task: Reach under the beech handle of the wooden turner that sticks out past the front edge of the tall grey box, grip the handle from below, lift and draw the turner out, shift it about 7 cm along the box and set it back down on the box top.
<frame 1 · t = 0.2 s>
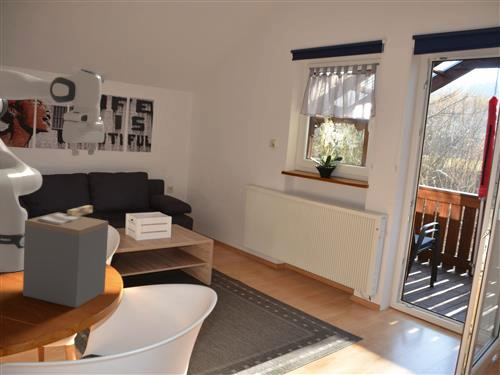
hand: (83, 155, 166), 47 cm above the table, tool pointing down, fingers open, 8 cm apart
grey box: (64, 293, 161), on the table
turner: (61, 219, 157), point 26 cm above the table, touching grey box
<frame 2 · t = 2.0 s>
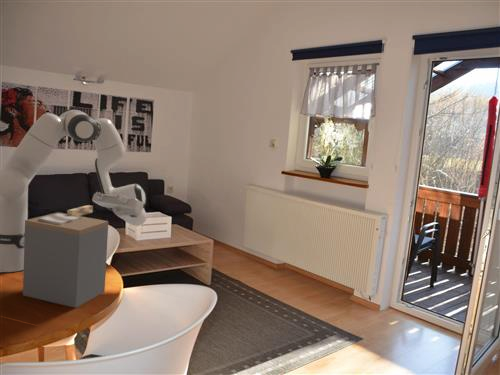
hand: (107, 195, 182), 31 cm above the table, tool pointing upward, fingers open, 8 cm apart
nothing on the table moved.
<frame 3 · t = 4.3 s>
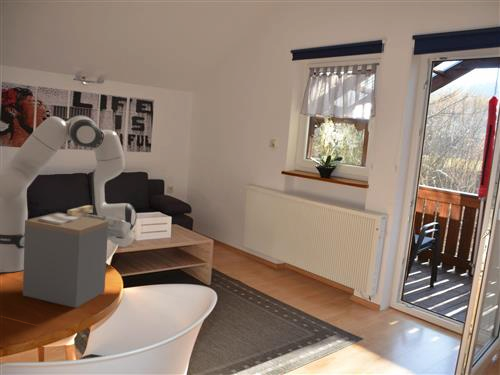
hand: (93, 216, 175), 24 cm above the table, tool pointing upward, fingers open, 8 cm apart
nothing on the table moved.
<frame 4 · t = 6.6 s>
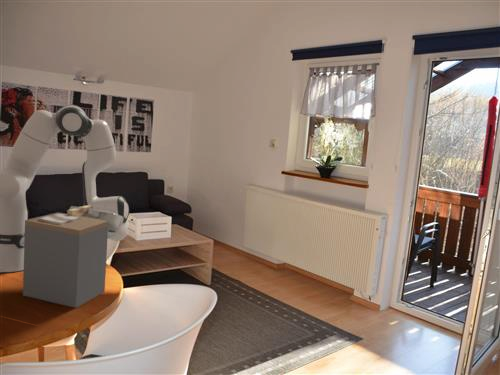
hand: (84, 209, 169), 28 cm above the table, tool pointing upward, fingers closed on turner, 2 cm apart
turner: (61, 219, 157), point 26 cm above the table, touching gripper, grey box
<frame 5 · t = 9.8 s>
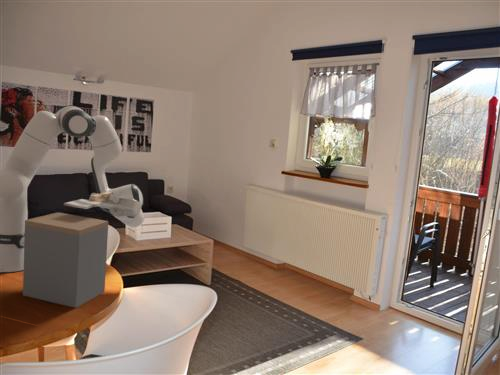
hand: (105, 195, 177), 32 cm above the table, tool pointing upward, fingers closed on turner
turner: (85, 204, 166), point 30 cm above the table, touching gripper
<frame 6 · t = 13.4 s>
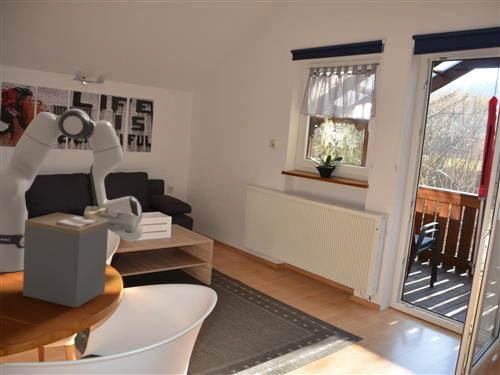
hand: (101, 209, 167), 29 cm above the table, tool pointing upward, fingers open, 4 cm apart
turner: (79, 222, 156), point 26 cm above the table, touching grey box
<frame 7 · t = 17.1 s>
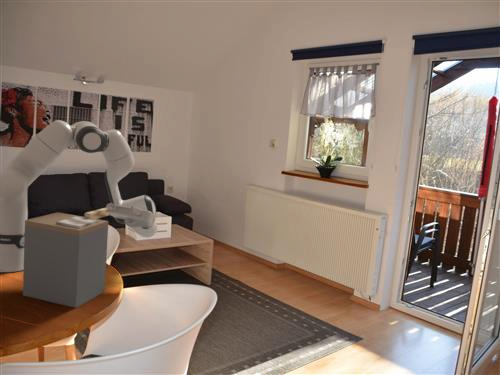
hand: (121, 206, 181), 27 cm above the table, tool pointing upward, fingers open, 8 cm apart
nothing on the table moved.
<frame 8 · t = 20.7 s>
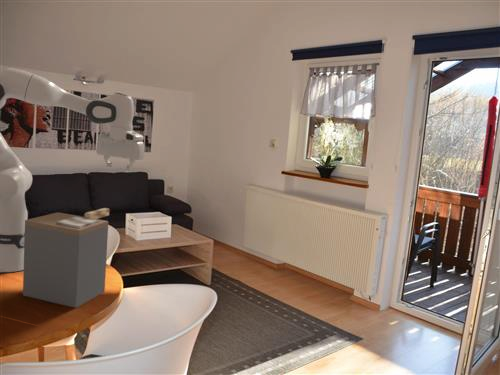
hand: (119, 168, 188), 41 cm above the table, tool pointing down, fingers open, 8 cm apart
nothing on the table moved.
at the end: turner 0.1 cm from the target spot, point 26.0 cm above the table; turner tilted 0°; the gripper is holding nothing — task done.
